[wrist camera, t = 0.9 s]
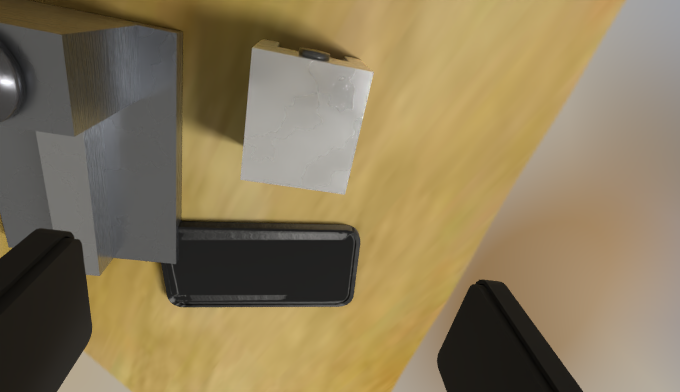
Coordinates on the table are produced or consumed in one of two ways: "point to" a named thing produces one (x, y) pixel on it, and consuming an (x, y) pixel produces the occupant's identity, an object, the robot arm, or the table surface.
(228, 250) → the phone
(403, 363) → the table surface
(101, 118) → the coupler
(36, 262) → the robot arm
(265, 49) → the block
